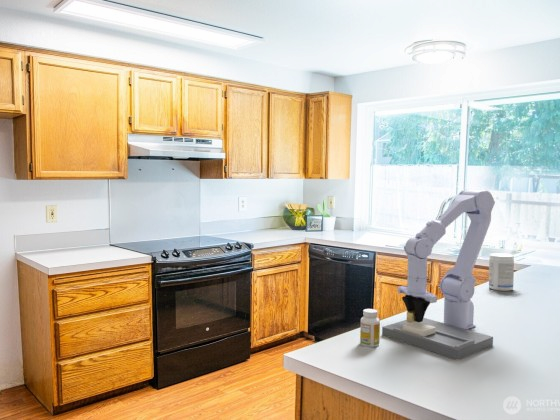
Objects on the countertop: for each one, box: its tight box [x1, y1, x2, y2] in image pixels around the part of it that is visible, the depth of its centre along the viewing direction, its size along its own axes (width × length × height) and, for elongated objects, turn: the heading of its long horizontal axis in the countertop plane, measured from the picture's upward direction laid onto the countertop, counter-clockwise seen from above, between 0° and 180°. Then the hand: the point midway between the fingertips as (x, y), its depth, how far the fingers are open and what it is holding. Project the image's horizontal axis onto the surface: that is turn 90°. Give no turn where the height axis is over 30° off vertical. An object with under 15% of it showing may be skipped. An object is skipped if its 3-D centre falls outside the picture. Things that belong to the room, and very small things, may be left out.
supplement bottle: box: [359, 308, 381, 348], centre depth 137 cm, size 5×5×10 cm
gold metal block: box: [406, 310, 416, 323], centre depth 148 cm, size 4×2×4 cm, turn 128°
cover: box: [403, 321, 436, 337], centre depth 140 cm, size 6×7×2 cm
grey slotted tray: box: [381, 317, 494, 361], centre depth 141 cm, size 18×25×4 cm
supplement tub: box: [488, 252, 515, 292], centre depth 205 cm, size 10×10×15 cm
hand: (415, 320), depth 148 cm, fingers closed on gold metal block, 2 cm apart
